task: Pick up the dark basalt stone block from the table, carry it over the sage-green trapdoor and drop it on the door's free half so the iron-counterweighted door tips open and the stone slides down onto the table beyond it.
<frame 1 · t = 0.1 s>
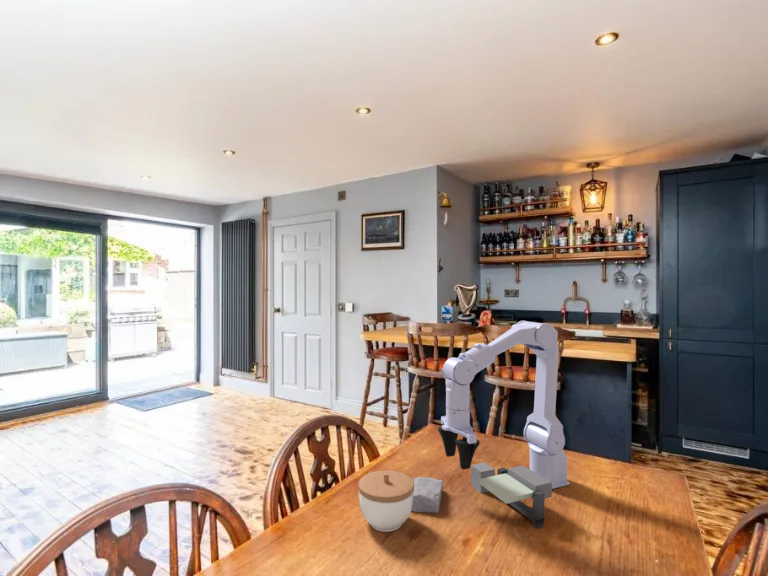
hand: (457, 461, 102), 10 cm above the table, tool pointing down, fingers open, 7 cm apart
stone: (482, 487, 110), on the table
frame: (519, 495, 98), on the table
trapdoor: (514, 485, 97), point 6 cm above the table, hinge at 0.0°
stone block: (421, 501, 103), on the table
lidded bowl: (386, 523, 93), on the table
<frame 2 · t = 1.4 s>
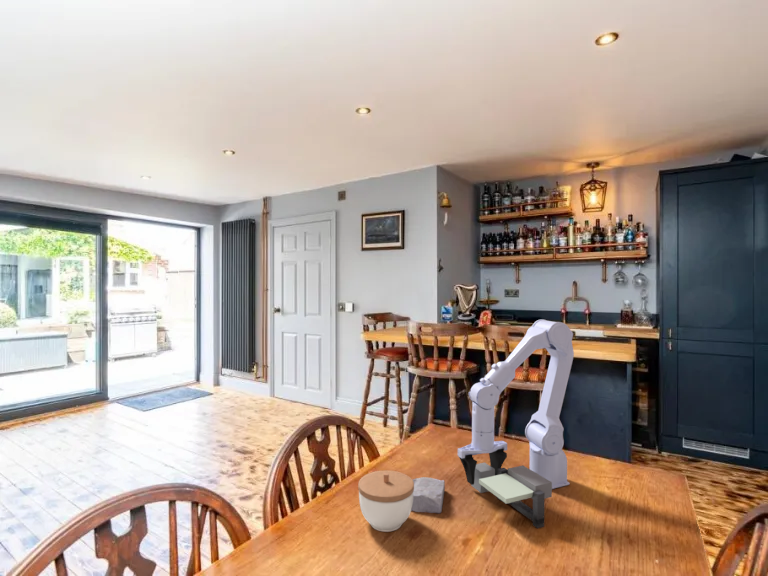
hand: (482, 480, 109), 2 cm above the table, tool pointing down, fingers open, 7 cm apart
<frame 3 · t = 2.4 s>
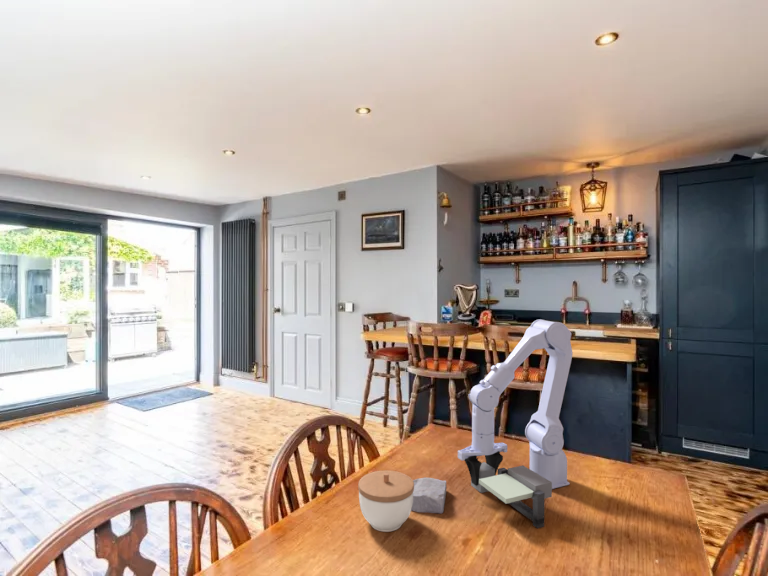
hand: (482, 482, 110), 1 cm above the table, tool pointing down, fingers closed on stone, 4 cm apart
stone: (482, 487, 110), on the table, touching gripper
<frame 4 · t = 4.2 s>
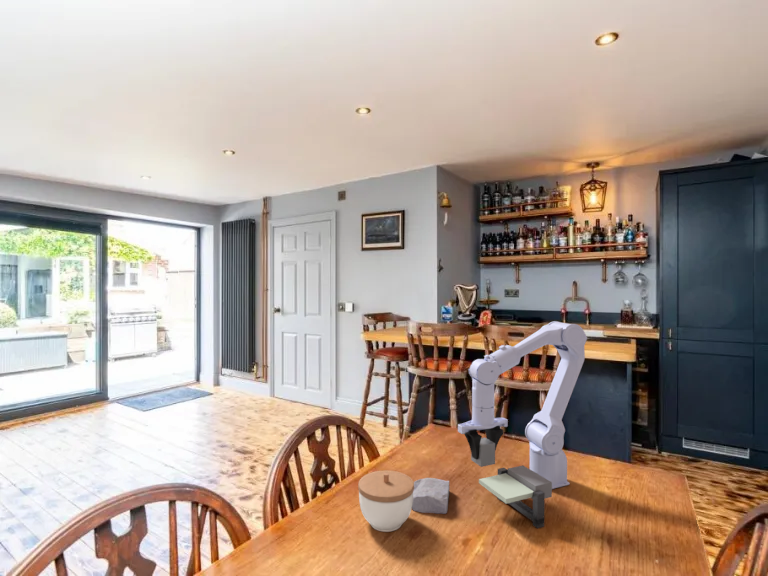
hand: (483, 456, 109), 8 cm above the table, tool pointing down, fingers closed on stone, 4 cm apart
stone: (483, 462, 109), point 7 cm above the table, touching gripper
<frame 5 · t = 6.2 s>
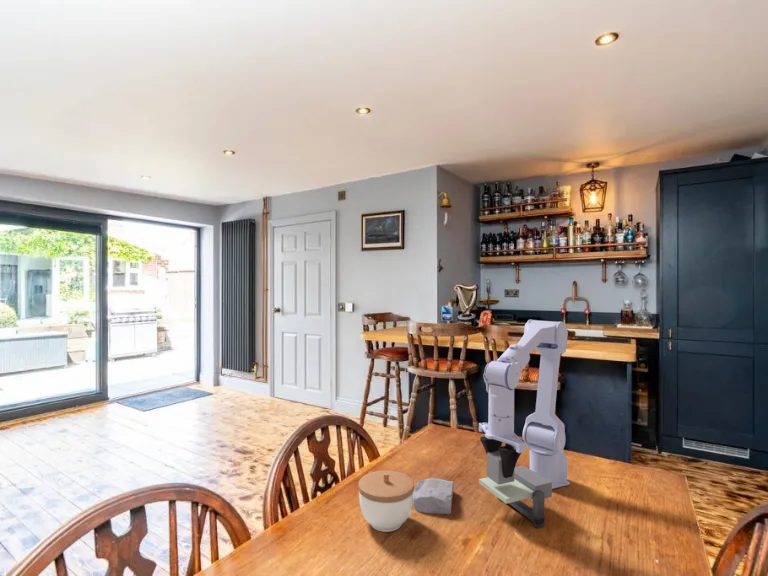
hand: (500, 472, 96), 10 cm above the table, tool pointing down, fingers closed on stone, 4 cm apart
stone: (500, 478, 96), point 9 cm above the table, touching gripper
when the fingers open (10 cm above the table, at t = 6.2 s): stone drops 2 cm, resting on trapdoor.
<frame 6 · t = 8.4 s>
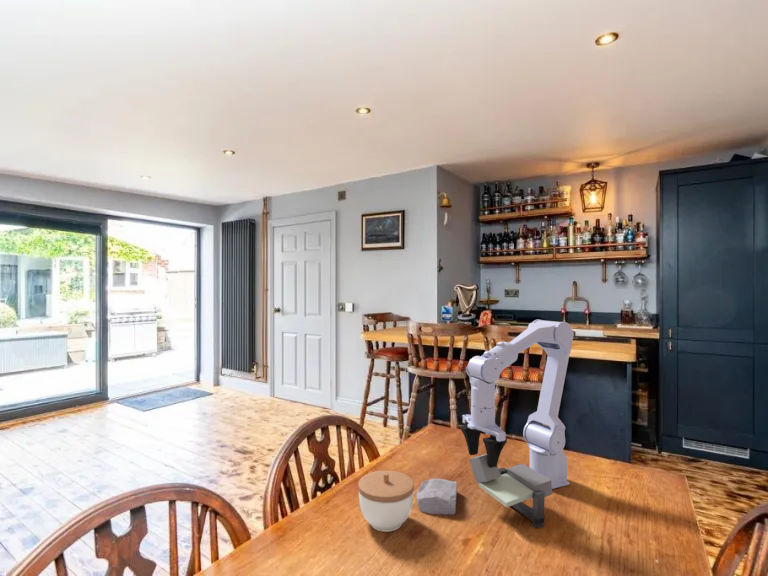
hand: (482, 460, 102), 10 cm above the table, tool pointing down, fingers open, 7 cm apart
stone: (488, 479, 99), point 7 cm above the table, tilted 27°, touching trapdoor
trapdoor: (514, 486, 97), point 6 cm above the table, hinge at -5.9°, touching stone
stone block: (436, 503, 103), on the table
everything else where it was.
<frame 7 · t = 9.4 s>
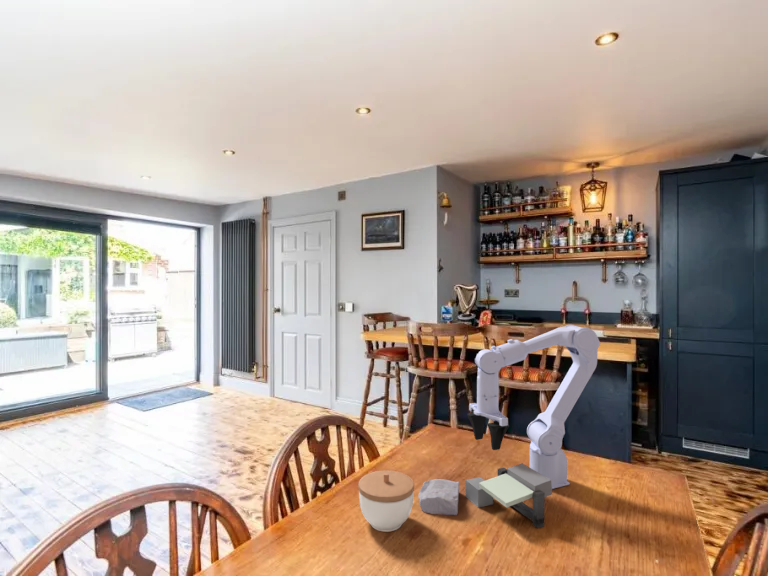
hand: (487, 444, 112), 10 cm above the table, tool pointing down, fingers open, 7 cm apart
stone: (485, 497, 100), point 2 cm above the table, tilted 90°
trapdoor: (514, 486, 97), point 6 cm above the table, hinge at -6.3°
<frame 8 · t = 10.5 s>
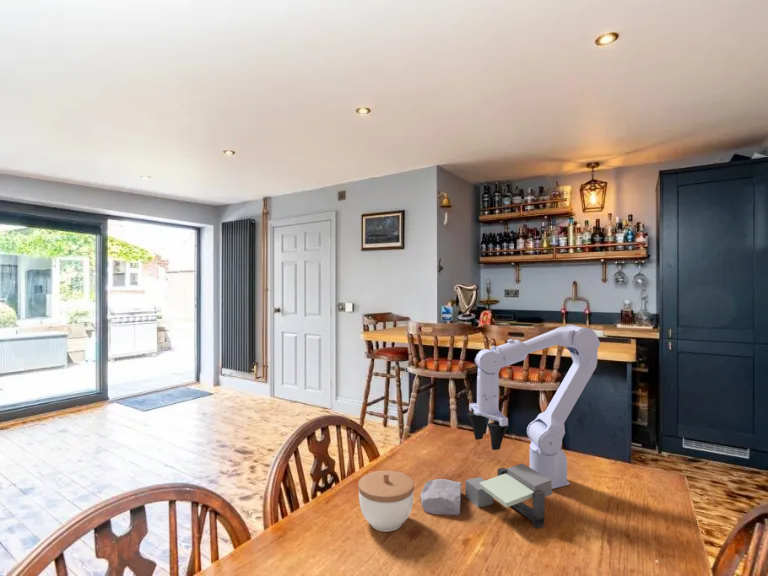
hand: (487, 444, 112), 10 cm above the table, tool pointing down, fingers open, 7 cm apart
at the end: stone point 2.0 cm above the table; stone inside the target area (8.5 cm from its centre), point 2.0 cm above the table; the gripper is holding nothing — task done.
